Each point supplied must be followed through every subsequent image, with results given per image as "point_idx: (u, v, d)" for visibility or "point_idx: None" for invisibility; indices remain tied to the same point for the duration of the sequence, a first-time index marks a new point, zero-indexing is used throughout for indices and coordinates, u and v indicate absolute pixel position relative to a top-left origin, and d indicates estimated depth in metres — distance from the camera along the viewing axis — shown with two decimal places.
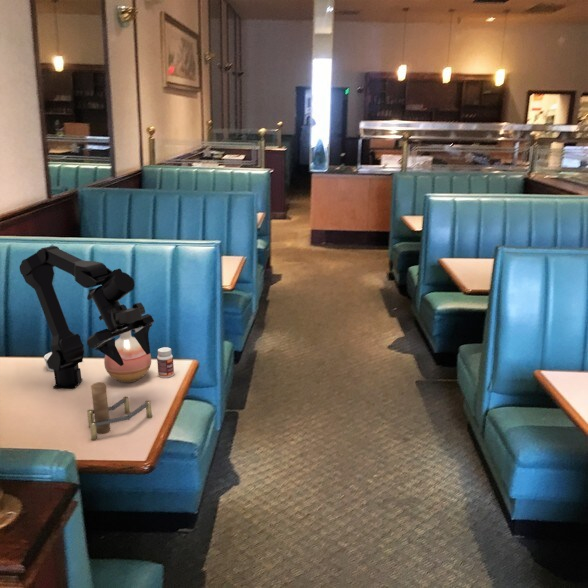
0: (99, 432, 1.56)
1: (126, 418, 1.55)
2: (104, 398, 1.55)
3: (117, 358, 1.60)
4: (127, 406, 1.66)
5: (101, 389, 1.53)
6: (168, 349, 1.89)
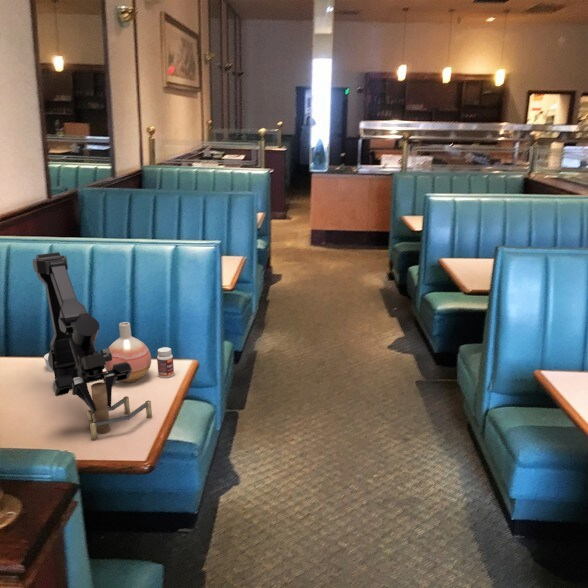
0: (99, 432, 1.56)
1: (126, 418, 1.55)
2: (104, 398, 1.55)
3: (89, 403, 1.54)
4: (127, 406, 1.66)
5: (101, 389, 1.53)
6: (168, 349, 1.89)
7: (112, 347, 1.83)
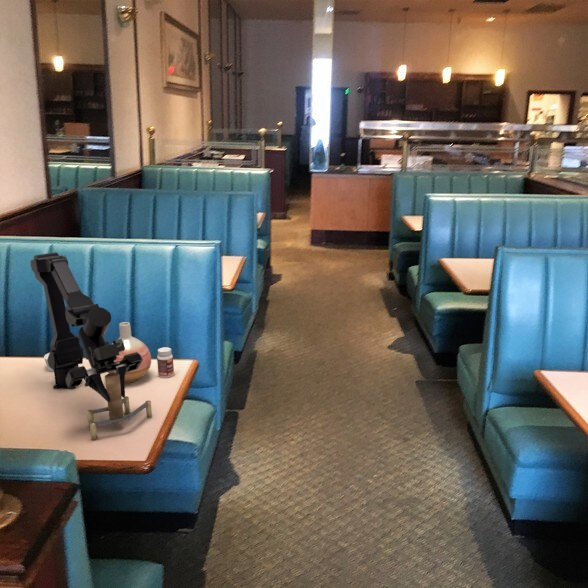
0: None
1: (126, 418, 1.55)
2: (118, 388, 1.55)
3: (104, 393, 1.54)
4: (127, 406, 1.66)
5: (115, 379, 1.54)
6: (168, 349, 1.89)
7: None
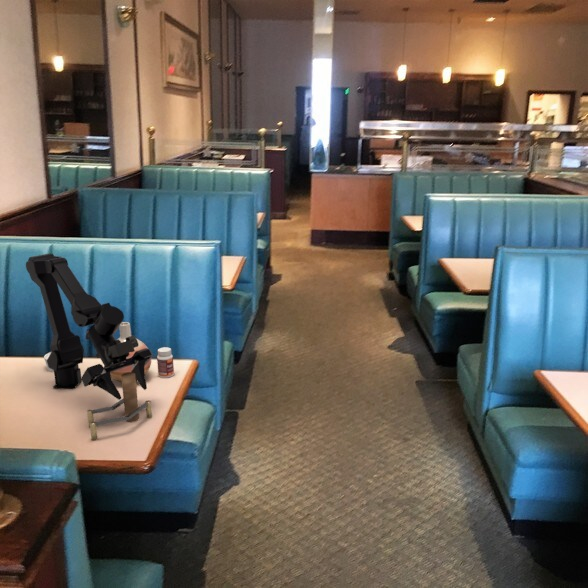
0: (130, 420, 1.62)
1: (126, 418, 1.55)
2: (135, 386, 1.61)
3: (114, 392, 1.58)
4: None
5: (132, 378, 1.60)
6: (168, 349, 1.89)
7: None
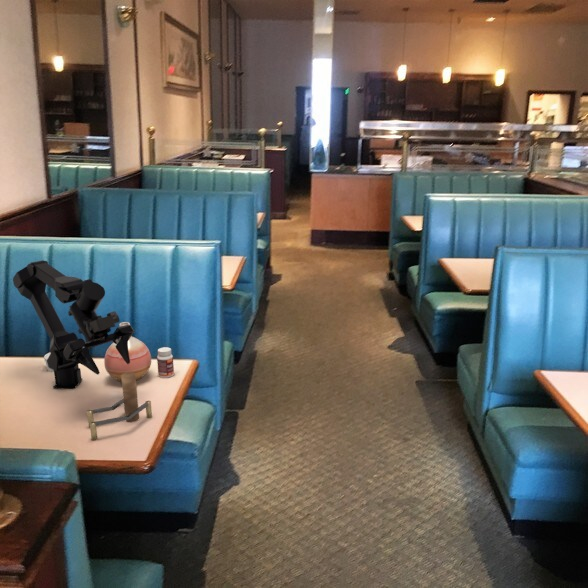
0: (130, 420, 1.62)
1: (126, 418, 1.55)
2: (135, 386, 1.61)
3: (93, 366, 1.61)
4: None
5: (132, 378, 1.60)
6: (168, 349, 1.89)
7: (112, 347, 1.83)
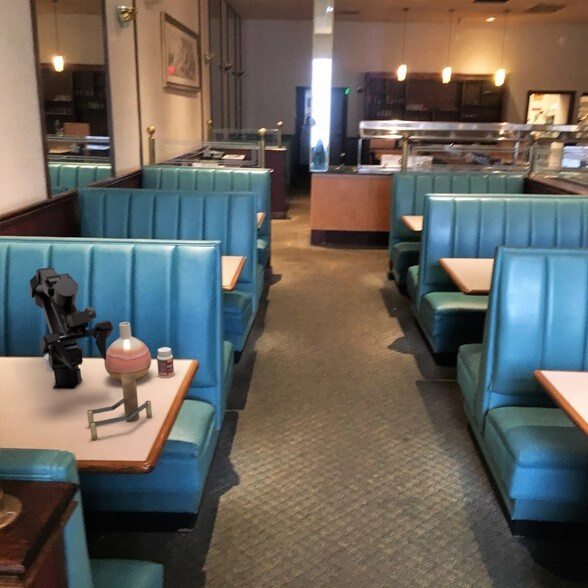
0: (130, 420, 1.62)
1: (126, 418, 1.55)
2: (135, 386, 1.61)
3: (66, 361, 1.62)
4: None
5: (132, 378, 1.60)
6: (168, 349, 1.89)
7: (112, 347, 1.83)
